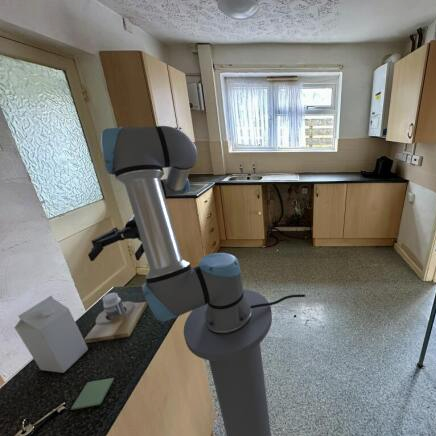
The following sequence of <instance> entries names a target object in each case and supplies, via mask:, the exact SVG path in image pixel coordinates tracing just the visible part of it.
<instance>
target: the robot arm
mask: <svg viewBox="0 0 436 436" xmlns="http://www.w3.org/2000/svg"><path fill="white" fill-rule="evenodd" d="M100 141H101V151H102V157H103V162H104V166H105V170H106V173H107V174H108V175H112V176H113V175H114V177H115V179H116V180H115V181H117V182H119V183H120V184H122V185H124V187H125V191H126V193H127V197H128V200H129V204H130V207H131V210H132V213H133V215H131V217H130V218H129V219H128V221H127V222H126V223H125V226H124V227H122V228H121V229H119V228H118V227H117V226H116V227H113V228H112V229H111V230H109V231H107V232H105V233H103V234H102V235H100V236H98V237H95V238H94V239H92V240H91V244H92V248H91V249H90V250H91V251H90V252H89V253H88V254H87V256H88V258H89V261H90V262H94V261H95V260H96V259H97V257H98V256H99V255H101V253H102V251H104V248H105V247H108V246H109V245H112V244H114V243H118V242H119V241H121V242H122V241H124V240H125V241H126V240H130V239H132V240H135V239H138V241H140V242H141V244H140V245H139V247H138V248H137V250H136V251H135V253H134V257H135V260H136V261H140V259H141V258H142V256H143V255H144V254H145V258H146V262H147V264H148V268H149V269H148V272H147V274H146V275H145V280H146V282H145V283H143V284H142V286H141V291H142V293H143V295H144V298H145V300H146V301H145V302H147V304H148V305H147V306H148V307H149V309H150V311H151V313H152V314H153V317H154V318H155V319H156V320H157V322H161V323H164V322H167V321H170V320H172V319H176V318H179V317H180V316H183V315H184V314H187V313H189V312H192V311H193V310H194V309H196V308H199V307H201V306H203V305H206V304H208V305H207V310H206V312H205V313H206V315H205V322H206V326H207V328H208V330H209V331H211V332H212V333H214V334H218V335H227V334H232V333H235V332H237V331H239V330H240V329H242V328H243V327H245V326H246V325H247V323H248V322H249V320H250V318H251V315H252V312H251V308H256V307H262V306H269V305H270V306H274V305H277V304H279V303H280V302H283V301H285V300H288V299H292V298H305V297H306V294H303V293H302V294H289V295H286V296H283V297H281V298H279V299H277V300H275V301H271V302H269V303H264V304H258V305H252V306H250V304H249V302H248V301H247V299H246V297H245V295H244V293H243V289H244V287H243V279H242V269H241V265H240V261H239V260H238V258H237V257H236V256H235V255H233V254H231V253H225V252H215V253H210V254H206V255H205V256H203V257H202V258H200V260H199V262H198V265H197V266H194V267H192V266H191V262H190V261H187V260H185V259H184V258H183V255H182V252H181V248H180V245H179V241H178V238H177V234H176V231H175V227H174V224H173V220H172V217H171V214H170V210H169V207H168V203H167V200H166V197H170V196H178V195H183V194H188V193H190V191H191V184H190V180H189V179H188V178H189V174H190V172H191V169H192V168H193V167H195V165H196V163H197V160H198V156H199V155H198V149H197V146H196V144H195V142H194V141H193V140H192V138H191V137H190V136H189V135H187V134H186V133H185V132H183V131H182V130H180V129H178V128H176V127H172V126H168V125H158V126H157V125H156V126H119V127H108V128H105V129H103V130H102V132H101V134H100ZM164 169H166V178H162V177H164V175H165V171H164Z"/></svg>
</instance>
